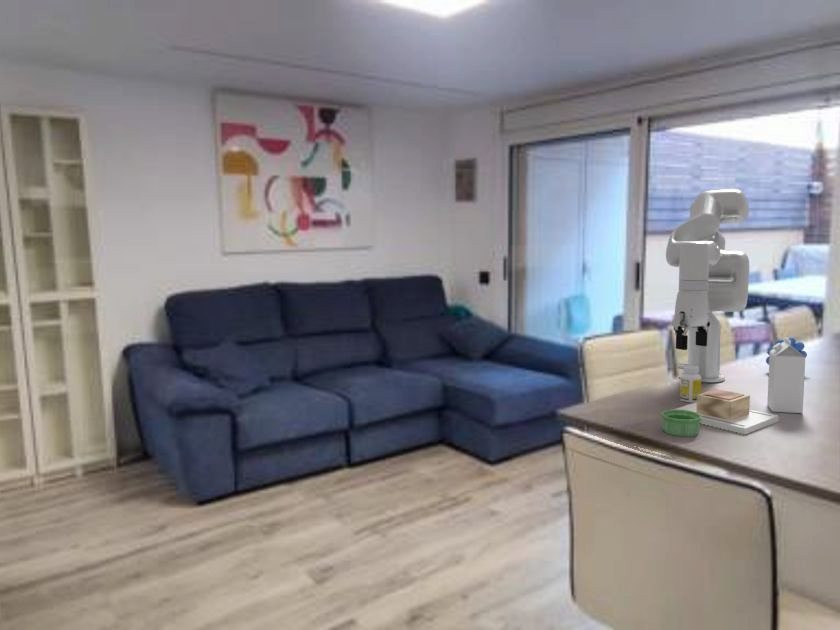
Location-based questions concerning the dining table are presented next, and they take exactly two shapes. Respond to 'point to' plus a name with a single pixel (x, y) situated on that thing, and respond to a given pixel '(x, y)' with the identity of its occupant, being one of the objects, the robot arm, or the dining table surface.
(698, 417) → the ramekin
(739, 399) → the oak plinth
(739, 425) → the white cutting board
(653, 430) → the dining table surface
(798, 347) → the grapes
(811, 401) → the dining table surface
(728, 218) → the robot arm
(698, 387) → the supplement bottle
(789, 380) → the milk carton
